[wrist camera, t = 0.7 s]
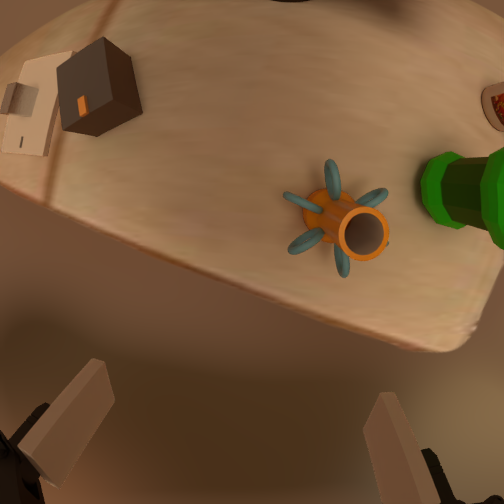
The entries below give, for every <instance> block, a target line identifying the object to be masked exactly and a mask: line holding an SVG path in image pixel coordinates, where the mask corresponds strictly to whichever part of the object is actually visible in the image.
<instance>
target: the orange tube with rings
mask: <svg viewBox="0 0 504 504" xmlns="http://www.w3.org/2000/svg"><path fill="white" fill-rule="evenodd" d="M324 173H325V182H326V187H327V189H320V190H317V191H315V192H314V193H312V194H311V195H310V196H309V197H308V198H307V200H306V199H303V198H301V197H299V196H297V195H295V194H292V193H290V192H284V194H283V197H284V198H285V199H286V200H288V201H290V202H293V203H295V204H297V205H299V206H301V207H303V218H304V222H305V224H306V226H307V227H308V229H309V231H307V232H305V233H304V234H302V235H300V236H299V237H298V238H296V239H295V240H294V241H293V242H292V243H291V244H290V245H289V246H288V252H289V253H290V254H292V255H295V254H299V253H302V252H304V251H306V250H308V249H309V248H311V247H313V246H314V245H315V244H317V243H318V242H319V241H320V240H321V241H324V242H327V243H334V255H335V262H336V267H337V270H338V273H339V275H340V276H341V277H342V278H346V277H347V276H348V274H349V270H350V262H349V257H350V258H352V259H354V260H358V261H368V260H371V259H373V258H375V257H377V256H378V255H379V254H380V253H381V252H382V251H383V250H384V248H385V247H387V246H388V244H389V242H388V238H389V227H388V223H387V221H386V219H385V217H384V216H383V215H382V214H381V213H380V212H379V211H378V210H376V209H374V208H373V207H375V206H377V205H378V204H380V203H381V202H382V201H384V200H385V199H386V198H387V196H388V190H387V189H386V188H378V189H375V190H373V191H371V192H369V193H367V194H365V195H364V196H362V197H361V198H359V199H358V200H357V201H356V202H355V201H354V200H353V199H352V198H351V196H349V195H348V194H347V193H345V192H343V191H341V180H340V174H339V171H338V167H337V165H336V163H335V162H334V161H333V160H332V159H328V160H327V161H326V162H325V167H324ZM309 238H310V239H309ZM306 240H307V241H306ZM304 241H305V242H304ZM303 242H304V243H303Z"/></svg>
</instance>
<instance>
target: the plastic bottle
mask: <svg viewBox="0 0 504 504" xmlns="http://www.w3.org/2000/svg"><path fill="white" fill-rule="evenodd" d="M420 184H421V195H422V203H423V205H424V206H425V207H426V209H427V210H428V212H429V213H430V215H431V216H432V218H433V219H434V221H435V222H436V223H438V224H441V225H444V226H448V227H451V228H454V229H460V228H462V227H464V226H466V225H469V226H473V227H476V228H480V229H483V230H486V231H489V234H490V236H491V238H492V240H493V243H494V244H496V245H497V246H498V247H499V248H501V249H503V250H504V147H503V148H501V149H499V150H497V151H496V152H494V153H492V154H490V155H489V157H477V158H465V157H463V156H460V155H458V154H456V153H454V152H445V153H443V154H441V155H439V156H437V157H435V158H433V159H431V160H430V161H429V162H428V164H427V166H426V169H425V171H424V173H423V175H422V178H421V180H420Z"/></svg>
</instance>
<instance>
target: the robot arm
mask: <svg viewBox="0 0 504 504" xmlns="http://www.w3.org/2000/svg"><path fill="white" fill-rule="evenodd" d="M275 1H283V2H300V1H308V0H275ZM114 402H115V398H114V395H113V392H112V388H111V384H110V381H109V377H108V373H107V369H106V365H105V362H104V361H100V360H97V359H93V358H92V359H91V360H90V361H89V363H88V364H87V365H86V366H85V367H84V368H83V369H82V370H81V371H80V372H79V374H78V375H77V376H76V377H75V378H74V379H73V380H72V381H71V383H70V384H69V385H68V386H67V387H66V388H65V389H64V390H63V392H62V393H61V394H60V395H59V396H58V397H57V398H56V400H55V401H54V402H53V403H52V404H51V405H49V404H48V403H44V404H42V405H40V406H38V407H37V408H36V409H35V410H34V411H33V412H32V414H31V416H29V417H28V418H27V419H26V421H24V423H23V424H22V425H21V426H20V427H19V428H18V430H17V431H16V432H15V433H14V434H13V436H12V437H11V438H10V439H9V440H7V439H6V437H5V435H4V434H3V433H2V432H1V430H0V504H45V502H44V497H43V493H42V489H41V484H40V481H39V479H38V478H39V477H40V475H41V476H42V477H43V479H44V480H46V482H48V483H49V484H51V485H53V486H54V487H56V488H58V489H60V488H61V486H62V484H63V483H64V481H65V479H66V477H67V476H68V474H69V473H70V471H71V469H72V468H73V466H74V465H75V463H76V461H77V460H78V458H79V456H80V455H81V453H82V452H83V450H84V448H85V447H86V445H87V444H88V442H89V441H90V439H91V437H92V436H93V434H94V433H95V431H96V430H97V428H98V426H99V425H100V423H101V421H102V420H103V419H104V417H105V416H106V414H107V413H108V411H109V409H110V408H111V406H112V405H113V403H114ZM363 432H364V436H365V439H366V443H367V446H368V450H369V454H370V457H371V461H372V465H373V468H374V472H375V476H376V480H377V484H378V488H379V492H380V496H381V500H382V504H466V503H465V502H463V501H461V500H456V498H455V497H454V495H453V492H452V490H451V487H450V485H449V483H448V480H447V478H446V476H445V473H443V469H442V466H440V462H439V460H438V457H437V455H436V454H435V453H434V452H433V451H432V450H431V449H430V448H428V449H423V450H420V448H419V445H418V443H417V441H416V438H415V436H414V434H413V432H412V430H411V427H410V425H409V423H408V421H407V418H406V416H405V414H404V412H403V410H402V408H401V405H400V403H399V401H398V399H397V397H396V395H395V393H394V392H386V393H385V392H383V393H380V394H379V397H378V399H377V401H376V403H375V405H374V407H373V410H372V412H371V414H370V416H369V418H368V420H367V422H366V424H365V426H364V428H363ZM474 504H504V500H503V498H502V497H500V496H498V495H493V496H490V497H489V498H488V499H486V500H485V501H484V502H481V503H474Z"/></svg>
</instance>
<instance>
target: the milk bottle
mask: <svg viewBox="0 0 504 504" xmlns="http://www.w3.org/2000/svg"><path fill="white" fill-rule="evenodd" d="M482 106H483V109H484V112H485V115H486V117H487V119H488V120H489V122H490V123H491V124H492V126H494V127H495V128H496V129H497V130H500V131H504V82H501V83H498V84H495V85H492V86H490V87H487V88H486V89H485V90H484V91H483V94H482Z"/></svg>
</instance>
